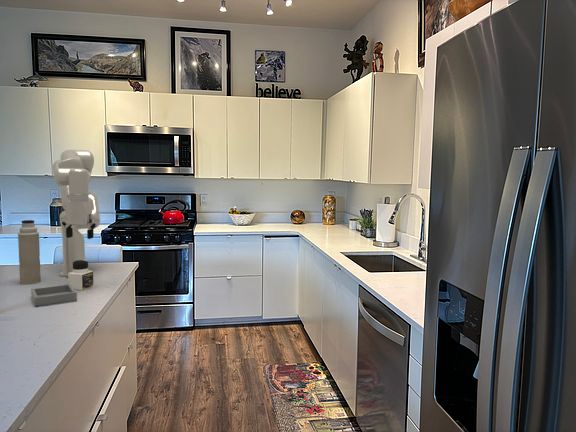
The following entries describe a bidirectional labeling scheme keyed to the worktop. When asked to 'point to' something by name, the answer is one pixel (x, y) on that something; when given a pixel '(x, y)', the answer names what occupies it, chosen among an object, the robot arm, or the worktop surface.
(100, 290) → the worktop surface
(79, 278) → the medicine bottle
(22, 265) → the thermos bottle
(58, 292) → the tray
